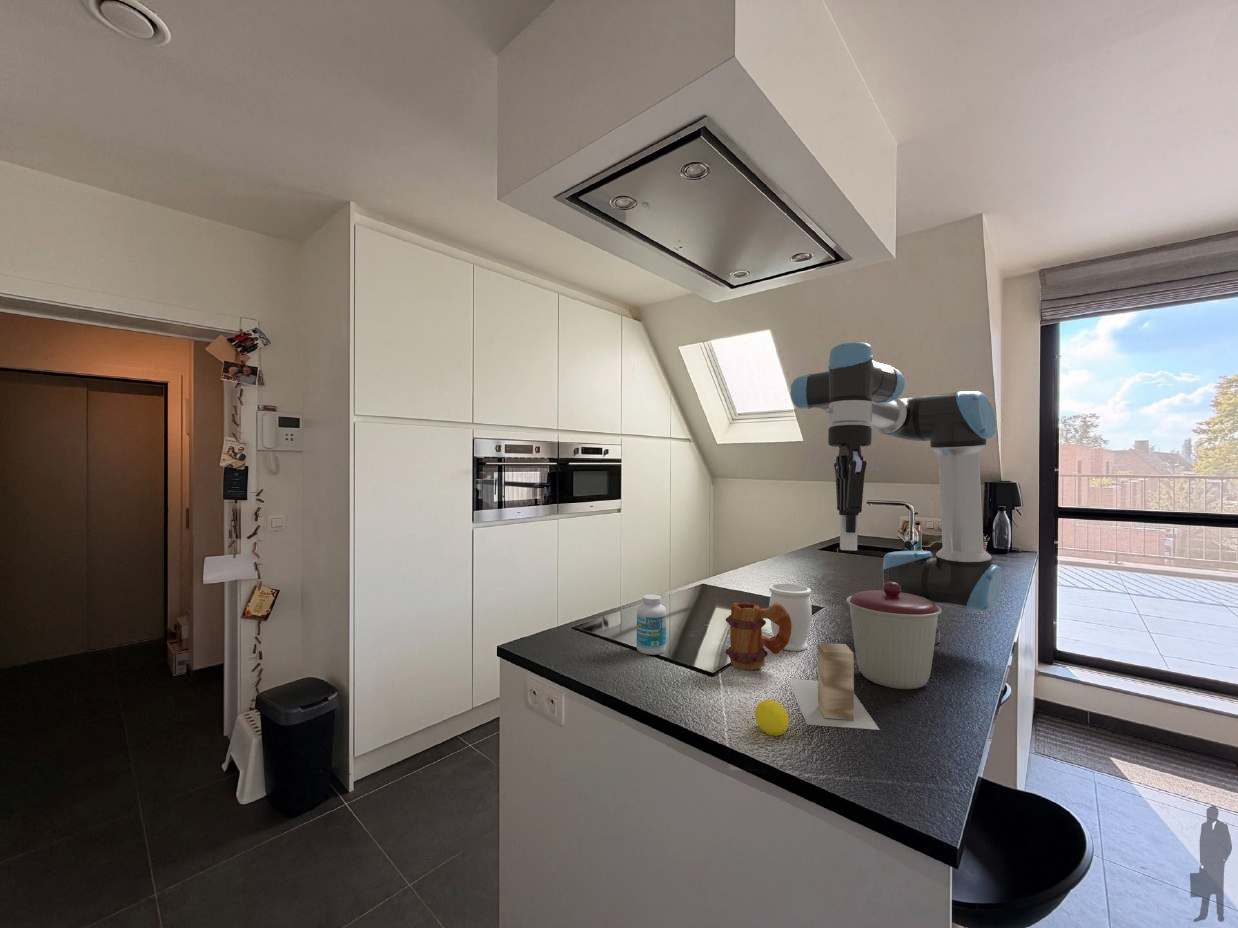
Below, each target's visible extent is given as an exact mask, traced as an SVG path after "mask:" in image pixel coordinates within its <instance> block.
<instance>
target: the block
mask: <svg viewBox="0 0 1238 928" xmlns="http://www.w3.org/2000/svg"><path fill="white" fill-rule="evenodd" d="M854 657H855V655H854V652H853V651H852V649H851V648H850V647H849V646H848V645H847V644H846V643H832V642H830V643H829V642H828V643H827V642H817V681H818V707H819V709H820V711H821V713H822V715H823V717H824V719H831V720H845V721H854V694H855V686H854V685H855V682H854V681H855V677H854V676H855V671H854V669H855V668H854V666H855V665H854V664H855V663H854Z"/></svg>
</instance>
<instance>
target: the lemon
mask: <svg viewBox="0 0 1238 928" xmlns="http://www.w3.org/2000/svg"><path fill="white" fill-rule="evenodd" d="M754 712H755V713H754V717H755V721H756V724H757V725H758V727H759V728H760V730H761V731H762V732H763V733H766V734H767V735H769V736H772V737H773V736H774V737H778V736H781V735H784V734H785V733H786V732H787V730H788V729H789V725H790V715H789V713H788V712H787V710H786V708H785V707H784V706H783V705H781V704H780V702H778V701H775V700H773V699H764V700H762V701H760V702H759V703H758V704H757V705H756V707H755V711H754Z"/></svg>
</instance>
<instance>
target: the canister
mask: <svg viewBox="0 0 1238 928" xmlns="http://www.w3.org/2000/svg"><path fill="white" fill-rule="evenodd" d="M883 590H884V591H883ZM846 603H847V604H848V605H849V609H850V610H849V611H850V619H851V626H852V627H851V629H852V635H853V637H852V638H853V643H854V650H855V651H854V652H855V657H856V664H857V668H858V669H859V671H860V673H861V674H862V676H863V677H864V678H865V679H867V680H868V681H871V682H872V683H874V684H876V685H880V686H883V687H887V688H890V689H891V688H893V689H898V690H914V689H916V690H917V689H920V688H923V687H924V686H925V685H926V684H927V683H928V681H929V679H930V676H931V672H932V667H933V658H934V652H935V645H936V644H935V636H936V628H937V625H938V616H939V615H941V613H942V611H943V609H942V607H940V606H939V604H937V603H933V602H932V601H930V600H928V599H926V598H924V597H921V596H917V595H913V594H908V593H903V592H901V586H900V585H899V584H898V583H896V582H886V583H885V584H884V585H883V584H882V590H873V589H872V590H862V591H859V592H855V593H853V595H850V596H848V597H847V598H846Z"/></svg>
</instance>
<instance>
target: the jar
mask: <svg viewBox="0 0 1238 928" xmlns="http://www.w3.org/2000/svg"><path fill="white" fill-rule="evenodd" d="M768 590H769V591H770V597H769V604H768V605H769V606H768V607H770V606H771V605H773V604H775V603H778V604H781V605H782V606H783V607H784V608H785V609H786V611H787V612H788V614H789V616H790V618H791V624H792V627H791V635H790V639H789V642H788V644H787V645H786V647H785V648H784V649H783V651H784V650H785V651H789V652H790V651H792V652H801V651H805V650H807V648H808V644H807V642H806V641H807V639H808V637H809V634H810V629H811V624H812V613H813V612H812V610H813V609H812V602H811V599H810V598H811V597H810V595H812V589H811V588H810V587H808V586H805V585H800V584H796V583H795V584H794V583H775V584H770V585H769V588H768ZM770 625H771V631H772V633H773V635H774V637H776V635H777V634H778V632H779V625H777V624H775V623H774V622H772V621H771V620H770Z"/></svg>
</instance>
